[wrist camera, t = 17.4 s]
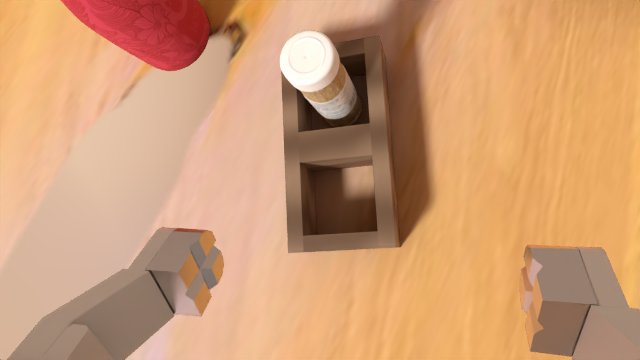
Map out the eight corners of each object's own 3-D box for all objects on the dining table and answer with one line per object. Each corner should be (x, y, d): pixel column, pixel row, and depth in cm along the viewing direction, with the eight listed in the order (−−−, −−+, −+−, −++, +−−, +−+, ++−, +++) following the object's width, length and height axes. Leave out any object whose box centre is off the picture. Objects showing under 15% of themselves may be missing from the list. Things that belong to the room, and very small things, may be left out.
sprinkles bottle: (331, 83, 46) (291, 21, 33) (369, 95, 45) (343, 36, 32) (315, 121, 46) (269, 74, 33) (353, 135, 45) (320, 91, 32)
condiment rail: (400, 247, 42) (396, 247, 37) (304, 252, 44) (288, 252, 40) (385, 57, 45) (379, 35, 40) (296, 72, 48) (280, 53, 43)
